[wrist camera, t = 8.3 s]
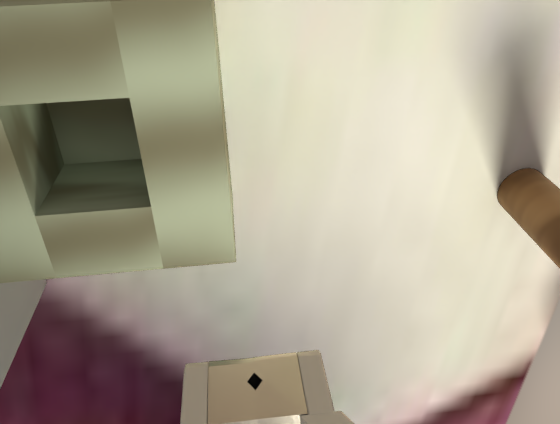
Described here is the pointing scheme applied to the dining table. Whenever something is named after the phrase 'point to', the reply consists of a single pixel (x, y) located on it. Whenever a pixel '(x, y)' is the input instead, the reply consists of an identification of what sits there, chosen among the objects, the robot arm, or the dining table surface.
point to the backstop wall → (16, 317)
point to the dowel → (534, 208)
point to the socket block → (111, 138)
